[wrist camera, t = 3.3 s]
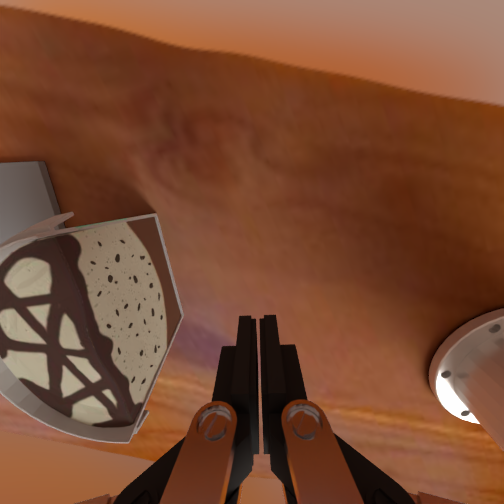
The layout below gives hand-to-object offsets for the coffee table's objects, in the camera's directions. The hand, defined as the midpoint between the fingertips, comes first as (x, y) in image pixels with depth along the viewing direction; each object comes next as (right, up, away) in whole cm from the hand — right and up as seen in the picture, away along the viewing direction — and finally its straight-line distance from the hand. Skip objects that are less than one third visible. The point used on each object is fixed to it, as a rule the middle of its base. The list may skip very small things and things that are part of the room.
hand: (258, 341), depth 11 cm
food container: (-10, +3, +9) cm, 14 cm away
